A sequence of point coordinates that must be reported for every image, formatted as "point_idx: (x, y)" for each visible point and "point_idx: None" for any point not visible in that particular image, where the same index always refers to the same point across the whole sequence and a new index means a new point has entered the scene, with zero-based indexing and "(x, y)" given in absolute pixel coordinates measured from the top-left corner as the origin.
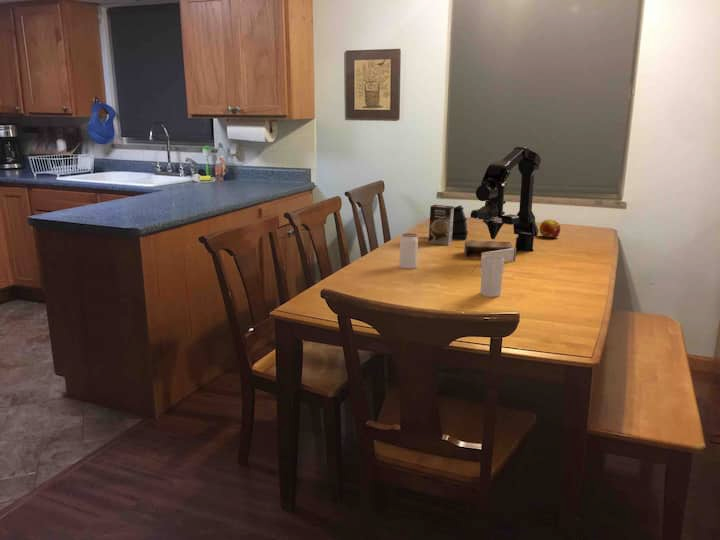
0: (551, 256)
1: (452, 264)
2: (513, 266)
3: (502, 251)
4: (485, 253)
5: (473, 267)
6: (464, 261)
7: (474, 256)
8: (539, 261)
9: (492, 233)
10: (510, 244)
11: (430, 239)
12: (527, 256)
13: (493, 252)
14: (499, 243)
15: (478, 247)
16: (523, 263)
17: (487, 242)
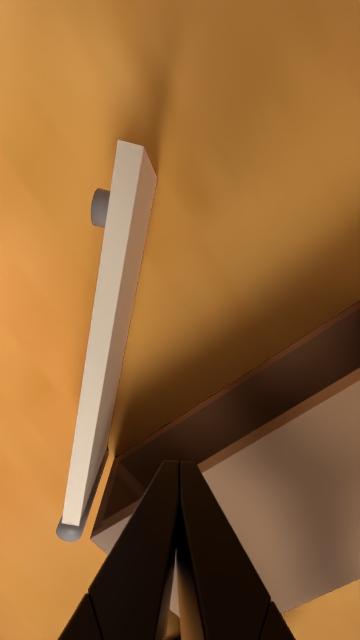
0: (40, 630)
1: (356, 13)
2: (8, 346)
3: (82, 406)
4: (113, 184)
5: (167, 82)
6: (323, 200)
7: (320, 346)
8: (6, 532)
9: (164, 538)
10: None
11: None
12: None
13: (97, 302)
14: None
15: (328, 386)
16: (25, 446)
17: (336, 543)
